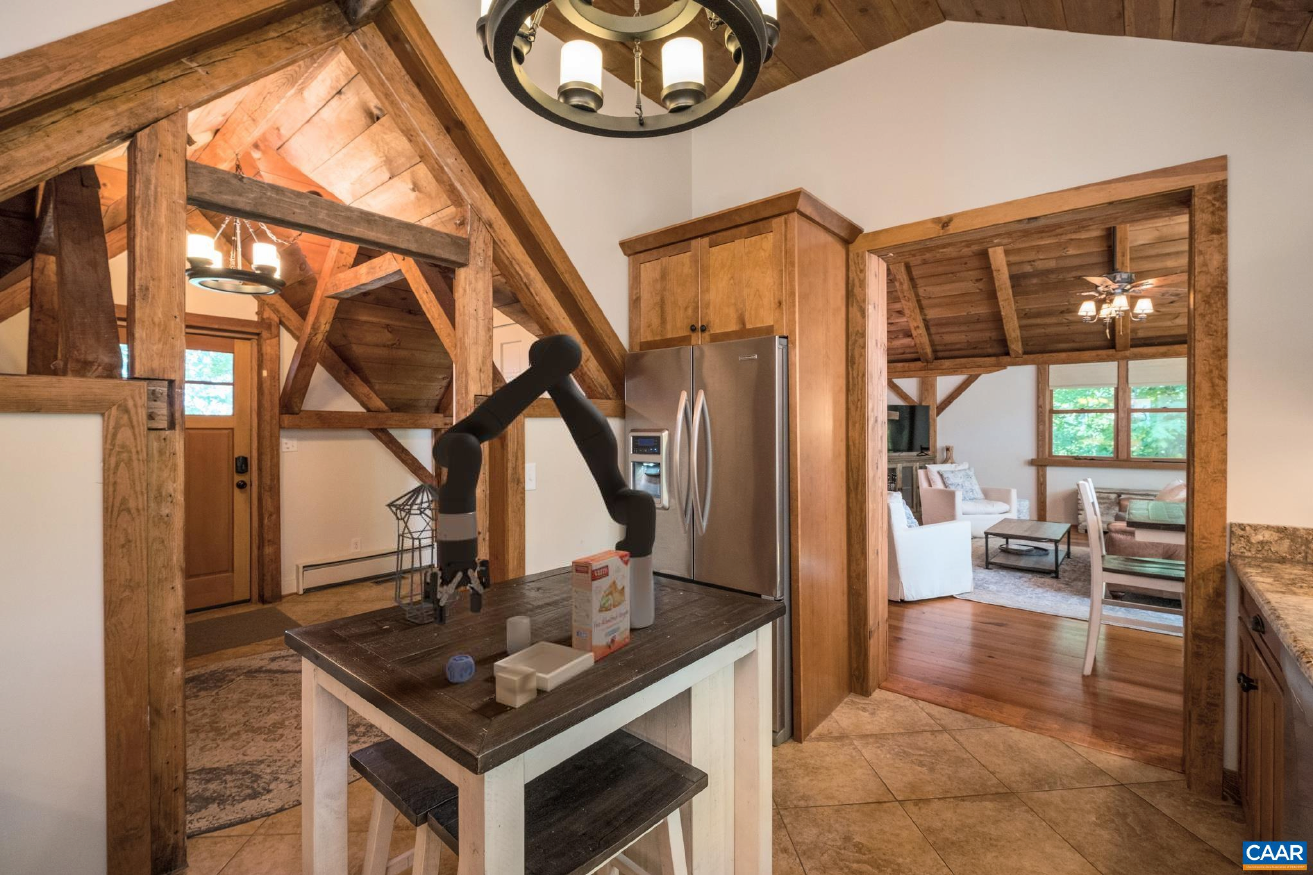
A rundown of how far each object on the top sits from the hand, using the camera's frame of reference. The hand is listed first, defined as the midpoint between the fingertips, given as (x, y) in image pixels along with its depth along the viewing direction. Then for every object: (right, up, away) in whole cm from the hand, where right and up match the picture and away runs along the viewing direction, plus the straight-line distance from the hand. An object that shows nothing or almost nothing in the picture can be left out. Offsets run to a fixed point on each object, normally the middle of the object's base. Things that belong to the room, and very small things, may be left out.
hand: (458, 618), depth 114 cm
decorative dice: (0, -12, 0) cm, 12 cm away
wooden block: (+13, -12, -9) cm, 20 cm away
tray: (+16, -12, +3) cm, 20 cm away
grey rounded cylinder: (+8, -12, +14) cm, 20 cm away
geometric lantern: (-21, -12, +39) cm, 46 cm away
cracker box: (+27, -12, +13) cm, 32 cm away
